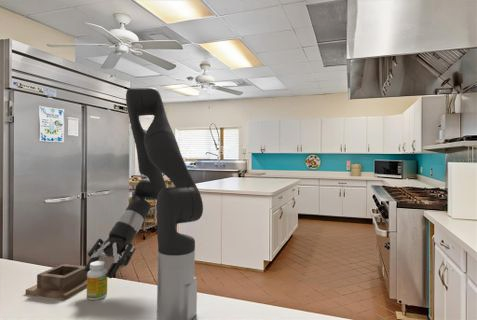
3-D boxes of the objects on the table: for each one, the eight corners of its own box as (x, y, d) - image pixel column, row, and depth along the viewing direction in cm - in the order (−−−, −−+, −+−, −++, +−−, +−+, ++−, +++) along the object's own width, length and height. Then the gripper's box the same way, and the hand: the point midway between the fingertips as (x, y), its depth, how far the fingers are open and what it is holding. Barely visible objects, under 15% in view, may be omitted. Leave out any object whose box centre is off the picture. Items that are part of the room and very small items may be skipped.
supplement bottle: (98, 301, 82) (99, 267, 82) (82, 299, 83) (82, 265, 83) (110, 293, 88) (111, 260, 88) (95, 291, 89) (95, 259, 89)
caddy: (97, 281, 96) (97, 265, 96) (65, 299, 83) (66, 281, 83) (61, 276, 99) (61, 261, 99) (25, 293, 86) (25, 276, 86)
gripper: (104, 218, 96) (72, 264, 86) (138, 223, 91) (108, 272, 80) (116, 231, 101) (87, 276, 91) (149, 236, 96) (122, 284, 85)
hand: (97, 274), depth 86 cm, fingers open, 8 cm apart
